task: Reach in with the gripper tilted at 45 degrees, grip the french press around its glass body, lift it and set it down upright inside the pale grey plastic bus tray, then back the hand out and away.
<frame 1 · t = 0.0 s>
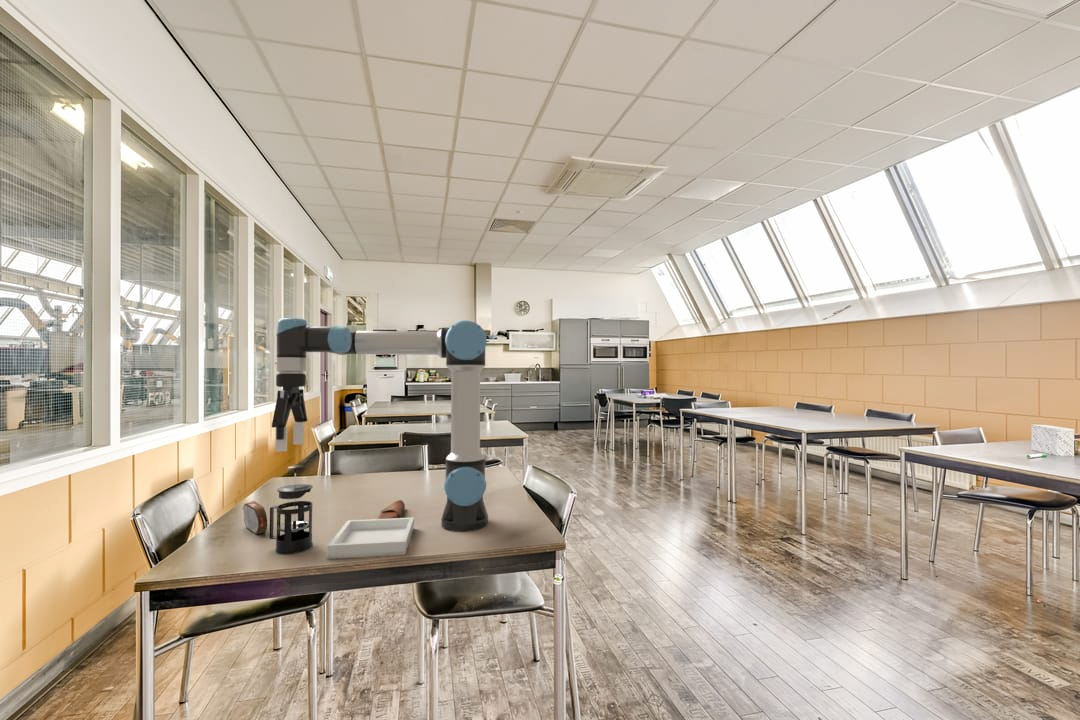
hand: (290, 447, 136), 28 cm above the table, tool pointing down, fingers open, 13 cm apart
bus tray: (374, 542, 139), on the table
sunglasses case: (390, 518, 164), on the table
french press: (292, 548, 134), on the table
tin: (254, 531, 149), on the table
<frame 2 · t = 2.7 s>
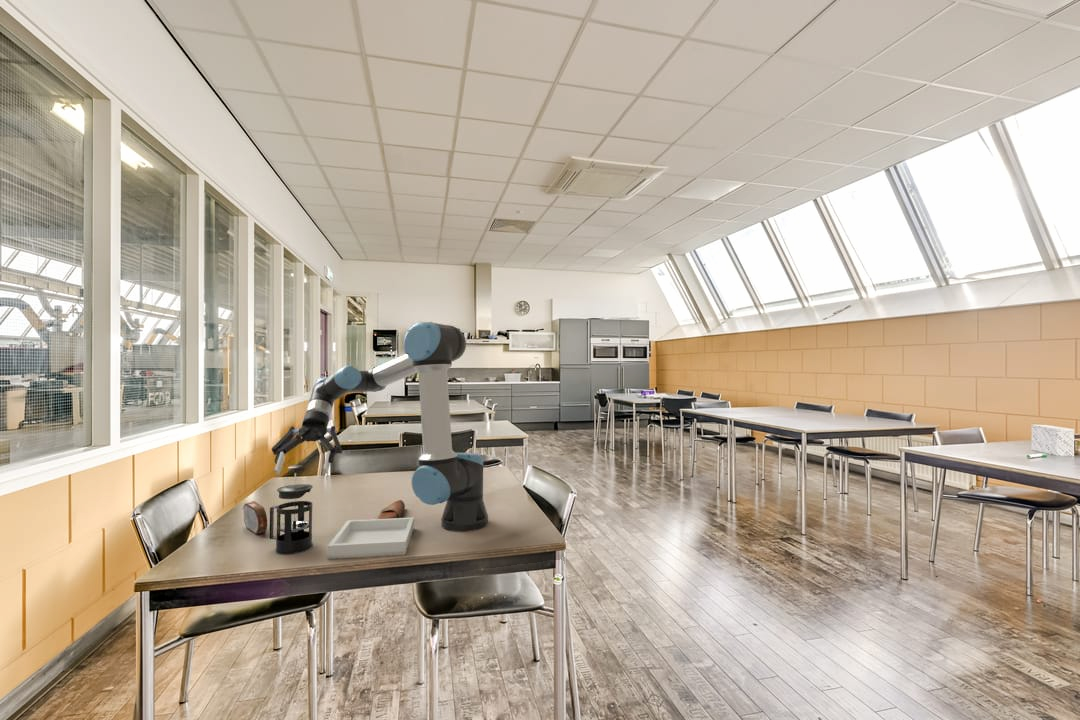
hand: (301, 472, 143), 20 cm above the table, tool tilted 45°, fingers open, 13 cm apart
nothing on the table moved.
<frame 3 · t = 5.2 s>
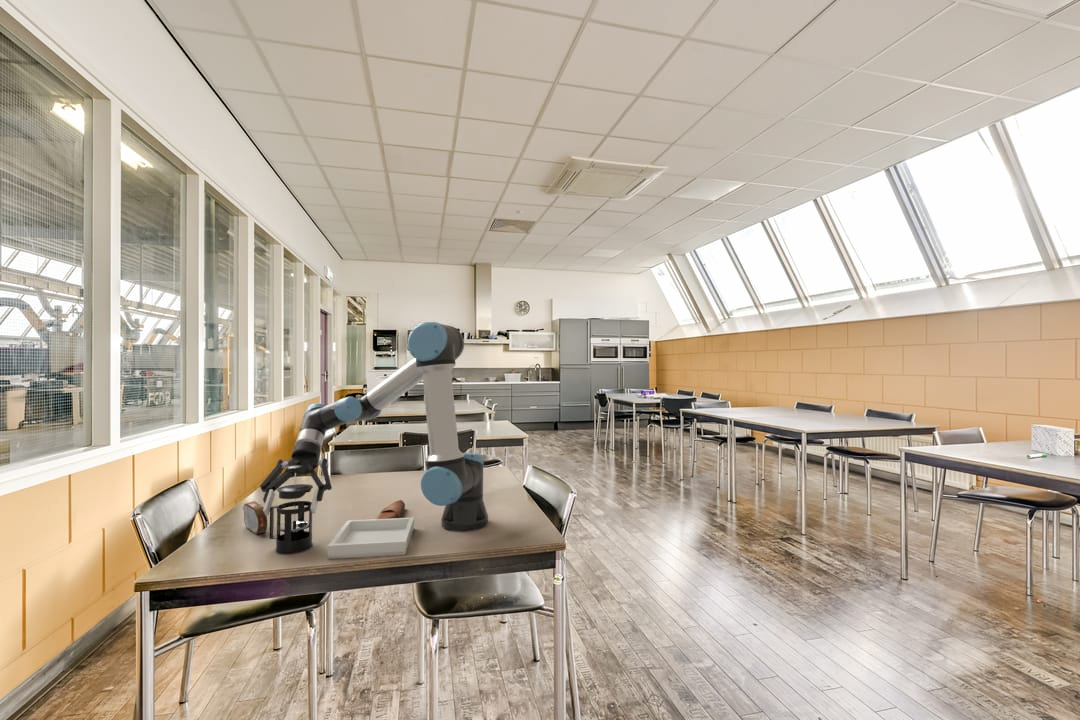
hand: (289, 511, 132), 11 cm above the table, tool tilted 45°, fingers open, 11 cm apart
french press: (292, 548, 134), on the table, touching gripper
everything else where it was.
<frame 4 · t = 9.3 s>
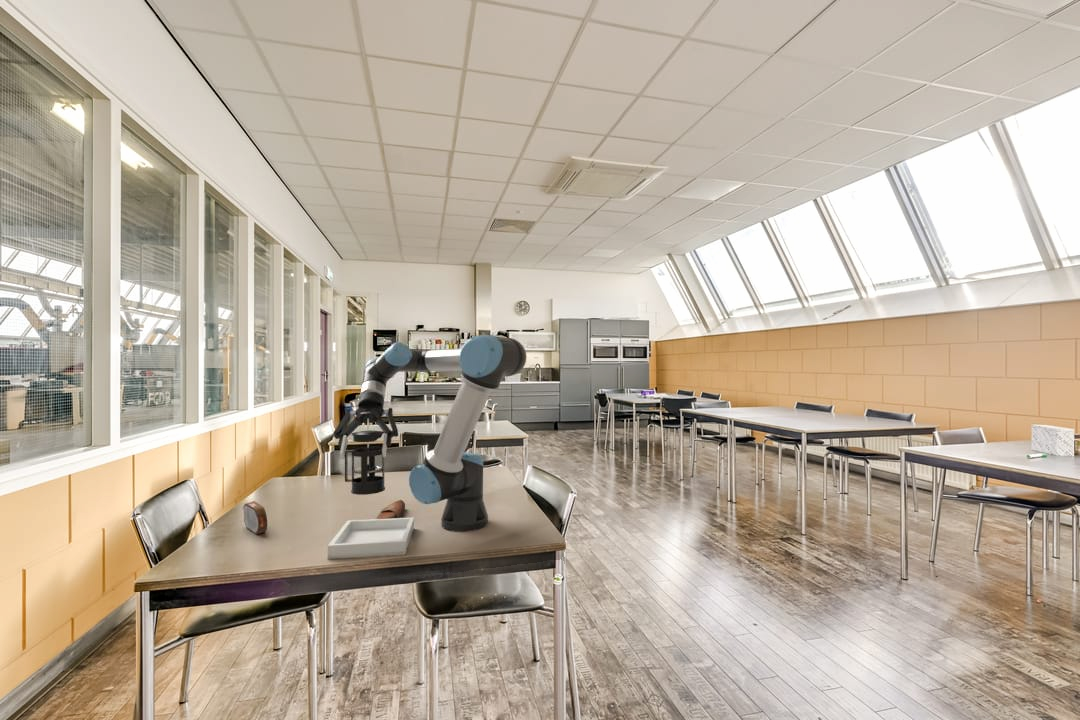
hand: (363, 455, 137), 26 cm above the table, tool tilted 45°, fingers closed on french press, 11 cm apart
french press: (366, 491, 140), point 15 cm above the table, touching gripper
everything else where it was.
when the fingers open (13 cm above the table, at t = 13.3 s): french press drops 2 cm, resting on bus tray.
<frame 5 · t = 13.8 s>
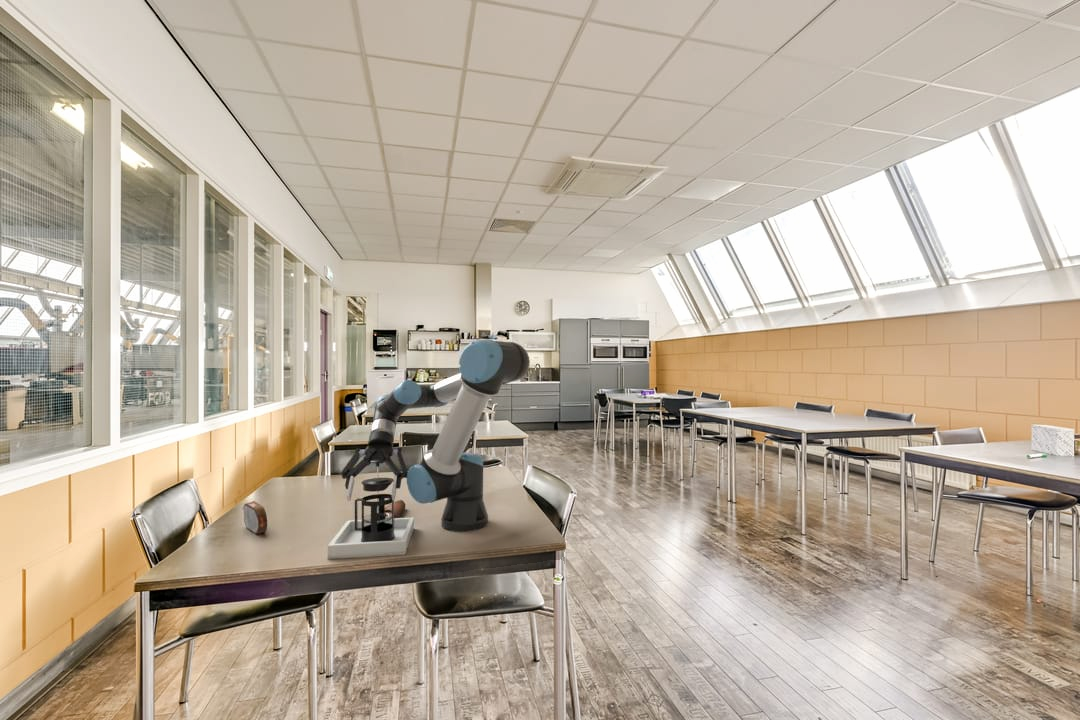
hand: (370, 498, 137), 14 cm above the table, tool tilted 45°, fingers open, 12 cm apart
french press: (376, 539, 139), point 1 cm above the table, touching bus tray, gripper
everything else where it was.
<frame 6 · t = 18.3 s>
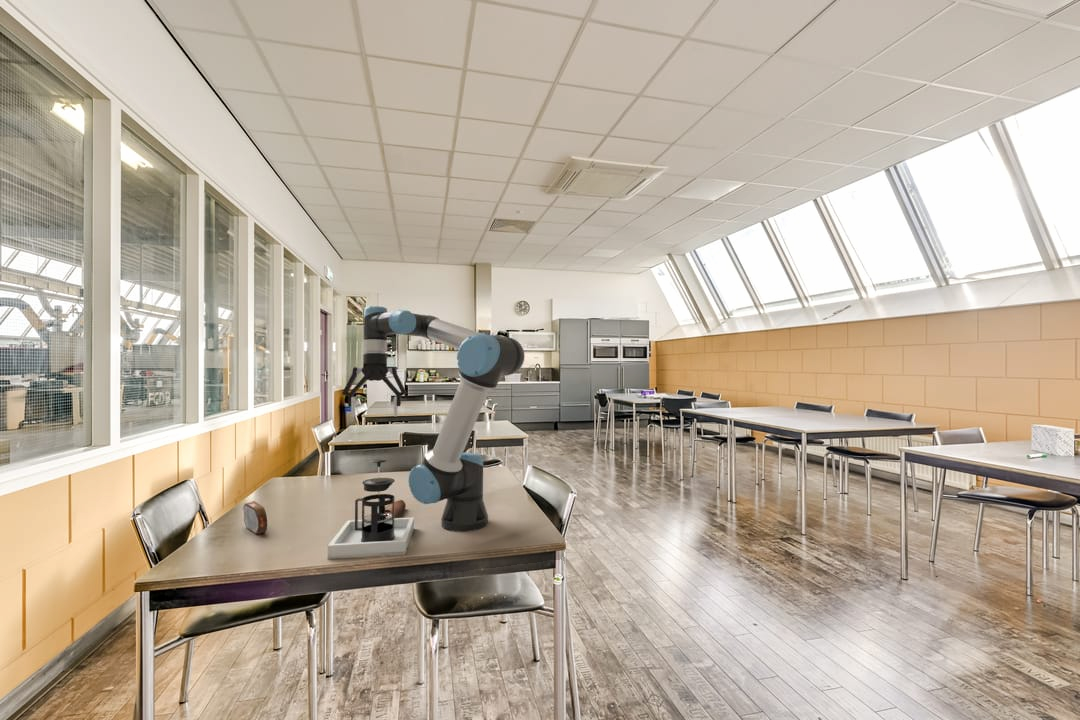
hand: (374, 416, 160), 35 cm above the table, tool pointing down, fingers open, 13 cm apart
french press: (376, 540, 139), point 1 cm above the table, touching bus tray
everything else where it was.
at the end: french press inside the target area on the bus tray (0.4 cm from its centre), point 0.6 cm above the bus tray's base; french press tilted 0°; the gripper is holding nothing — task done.
